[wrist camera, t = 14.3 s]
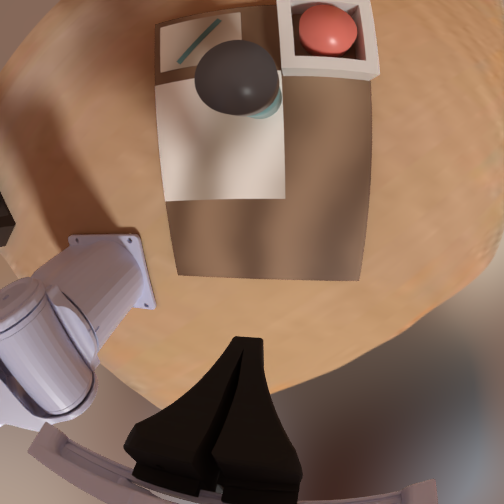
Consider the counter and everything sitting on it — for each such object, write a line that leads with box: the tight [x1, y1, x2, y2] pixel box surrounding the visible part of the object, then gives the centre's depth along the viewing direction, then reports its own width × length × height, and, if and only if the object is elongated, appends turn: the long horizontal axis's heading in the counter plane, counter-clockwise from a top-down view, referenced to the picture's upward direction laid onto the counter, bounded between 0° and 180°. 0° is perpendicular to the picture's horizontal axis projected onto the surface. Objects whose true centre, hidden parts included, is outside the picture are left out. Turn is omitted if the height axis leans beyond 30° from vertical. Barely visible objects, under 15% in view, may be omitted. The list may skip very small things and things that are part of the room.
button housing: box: [276, 0, 380, 81], centre depth 12 cm, size 6×6×2 cm
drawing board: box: [155, 5, 372, 281], centre depth 18 cm, size 15×21×1 cm
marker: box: [194, 40, 282, 119], centre depth 12 cm, size 3×3×8 cm
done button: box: [299, 5, 357, 58], centre depth 12 cm, size 3×3×2 cm
